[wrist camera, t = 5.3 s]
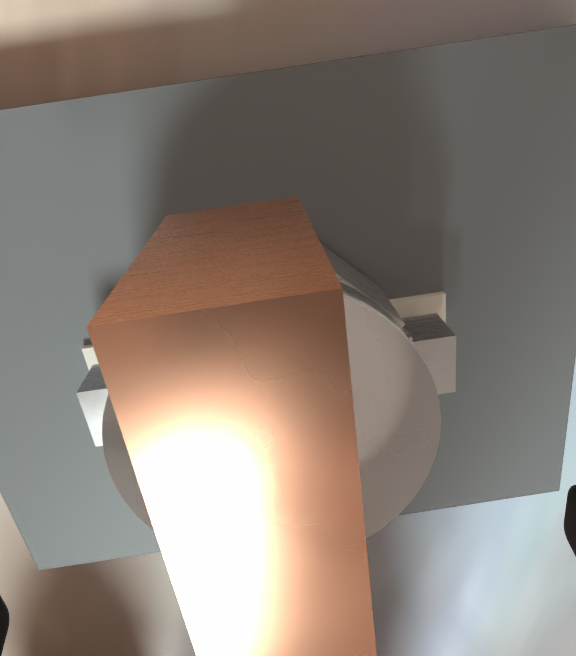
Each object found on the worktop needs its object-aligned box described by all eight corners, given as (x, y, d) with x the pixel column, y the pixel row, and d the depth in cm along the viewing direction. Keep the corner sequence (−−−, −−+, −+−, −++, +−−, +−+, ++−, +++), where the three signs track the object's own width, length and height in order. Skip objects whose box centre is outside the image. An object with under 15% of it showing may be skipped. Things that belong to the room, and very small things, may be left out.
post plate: (536, 461, 19) (608, 552, 15) (54, 535, 18) (5, 645, 15) (577, 27, 13) (713, -3, 9) (-129, 131, 13) (-289, 145, 9)
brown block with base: (428, 144, 12) (747, 227, 4) (433, 470, 16) (598, 808, 8) (46, 201, 12) (-326, 388, 4) (150, 513, 16) (59, 892, 8)
